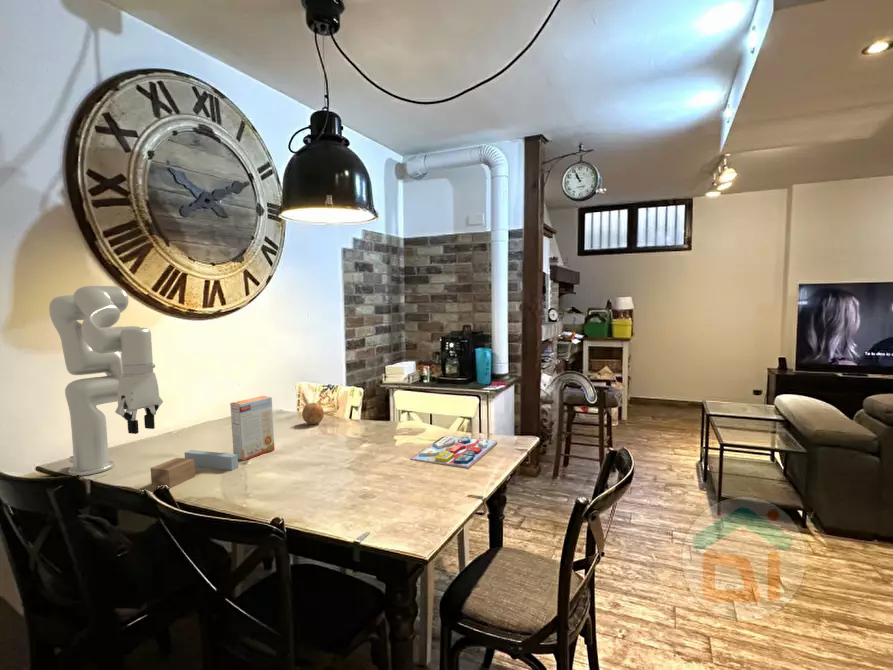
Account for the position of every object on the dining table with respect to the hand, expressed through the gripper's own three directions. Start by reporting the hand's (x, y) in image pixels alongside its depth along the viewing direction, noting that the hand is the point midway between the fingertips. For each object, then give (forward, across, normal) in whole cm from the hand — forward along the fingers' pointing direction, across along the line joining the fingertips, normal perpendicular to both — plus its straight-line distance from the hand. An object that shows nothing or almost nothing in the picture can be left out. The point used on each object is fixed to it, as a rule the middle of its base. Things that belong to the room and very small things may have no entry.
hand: (141, 430), depth 139 cm
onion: (+20, -83, +4) cm, 85 cm away
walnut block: (+20, -10, 0) cm, 22 cm away
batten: (+19, -24, +1) cm, 31 cm away
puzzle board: (+20, -62, +79) cm, 102 cm away
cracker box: (+20, -39, +7) cm, 44 cm away
